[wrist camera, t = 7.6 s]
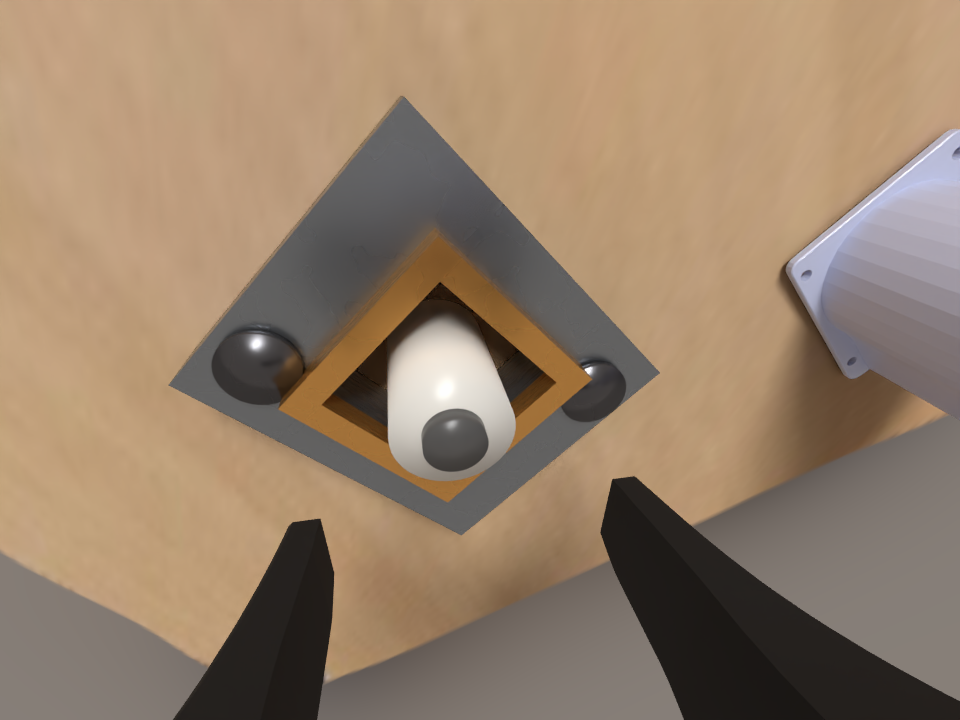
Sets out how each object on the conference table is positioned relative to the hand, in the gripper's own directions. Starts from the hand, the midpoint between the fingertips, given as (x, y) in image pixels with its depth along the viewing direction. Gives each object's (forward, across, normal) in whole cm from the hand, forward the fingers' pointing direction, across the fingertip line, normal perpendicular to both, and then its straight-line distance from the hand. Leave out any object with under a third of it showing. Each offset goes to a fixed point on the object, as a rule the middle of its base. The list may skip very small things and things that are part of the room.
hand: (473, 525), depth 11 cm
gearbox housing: (+9, 0, 0) cm, 9 cm away
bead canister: (+9, 0, 0) cm, 9 cm away
